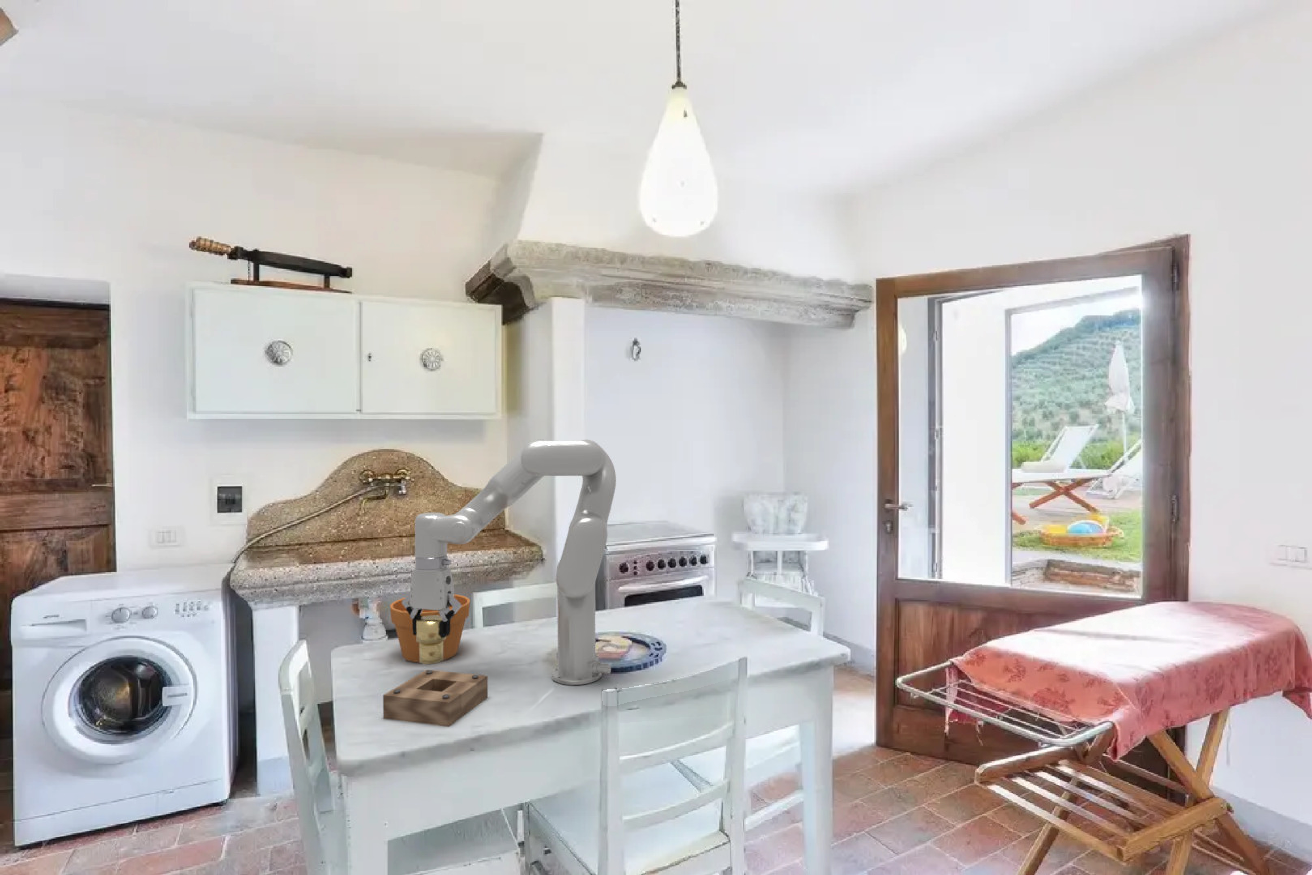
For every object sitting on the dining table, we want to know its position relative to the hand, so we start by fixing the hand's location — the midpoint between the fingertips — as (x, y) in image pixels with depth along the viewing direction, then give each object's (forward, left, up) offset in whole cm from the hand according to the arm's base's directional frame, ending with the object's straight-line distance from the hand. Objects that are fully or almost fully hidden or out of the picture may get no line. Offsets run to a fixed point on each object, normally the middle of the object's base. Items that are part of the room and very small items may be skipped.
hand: (431, 634), depth 171 cm
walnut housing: (-11, +15, -12) cm, 22 cm away
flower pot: (+13, -19, -12) cm, 26 cm away
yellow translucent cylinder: (0, 0, -6) cm, 6 cm away
